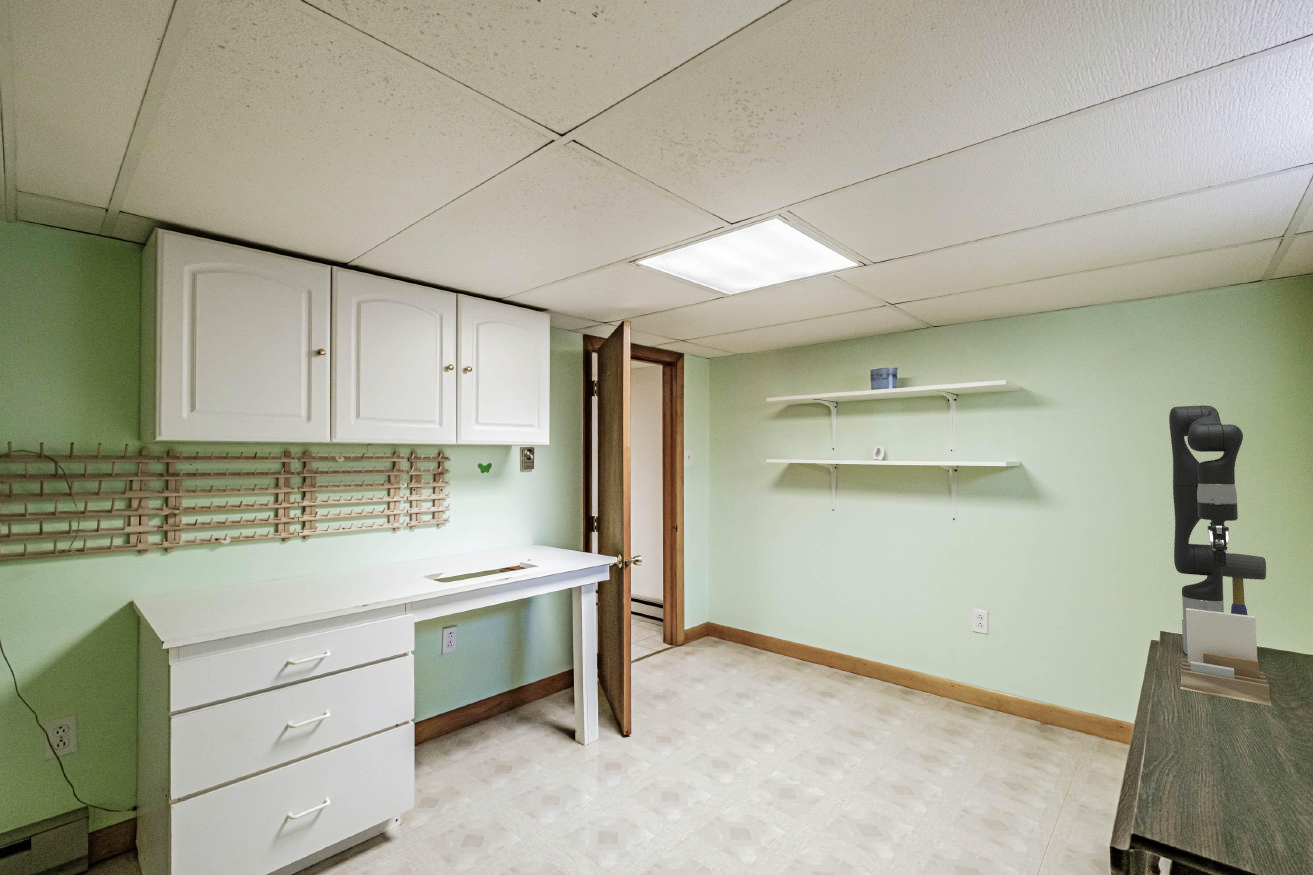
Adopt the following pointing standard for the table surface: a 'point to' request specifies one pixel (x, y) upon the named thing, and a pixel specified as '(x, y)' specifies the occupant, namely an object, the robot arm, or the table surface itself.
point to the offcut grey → (1212, 669)
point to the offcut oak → (1234, 664)
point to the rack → (1226, 685)
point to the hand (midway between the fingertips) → (1219, 563)
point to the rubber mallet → (1243, 576)
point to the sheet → (1220, 634)
